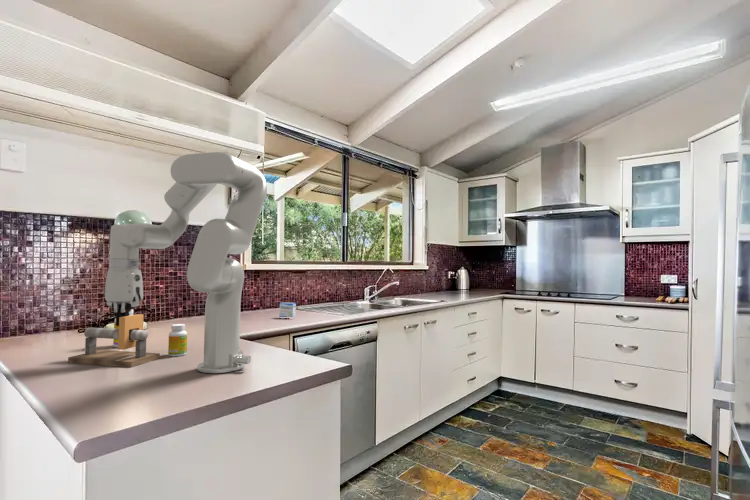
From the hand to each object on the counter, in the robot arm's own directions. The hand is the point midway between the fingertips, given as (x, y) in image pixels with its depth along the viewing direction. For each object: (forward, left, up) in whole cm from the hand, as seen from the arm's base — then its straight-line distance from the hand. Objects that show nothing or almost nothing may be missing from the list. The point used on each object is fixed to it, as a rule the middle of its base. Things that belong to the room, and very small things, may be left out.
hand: (122, 325), depth 120 cm
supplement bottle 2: (-11, -11, -11) cm, 19 cm away
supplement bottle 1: (+16, -18, -11) cm, 27 cm away
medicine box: (-10, -99, -11) cm, 100 cm away
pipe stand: (+2, 0, -11) cm, 11 cm away
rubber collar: (-3, 0, -6) cm, 7 cm away
